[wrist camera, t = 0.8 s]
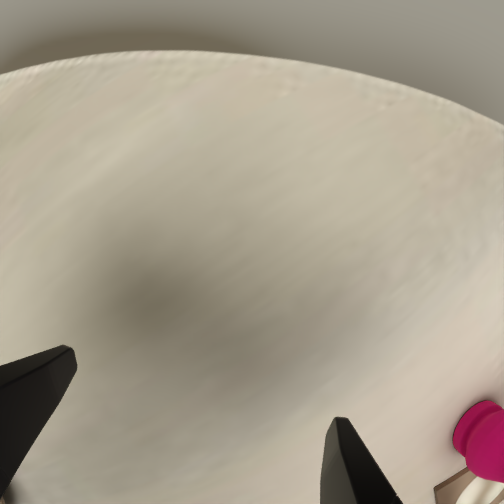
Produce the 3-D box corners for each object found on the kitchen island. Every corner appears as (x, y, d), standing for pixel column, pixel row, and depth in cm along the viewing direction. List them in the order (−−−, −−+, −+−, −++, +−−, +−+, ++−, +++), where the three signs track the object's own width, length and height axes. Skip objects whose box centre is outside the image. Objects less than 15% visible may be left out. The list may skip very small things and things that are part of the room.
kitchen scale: (440, 536, 22) (442, 540, 21) (433, 487, 23) (437, 492, 22) (515, 485, 22) (519, 488, 21) (520, 426, 22) (525, 429, 21)
